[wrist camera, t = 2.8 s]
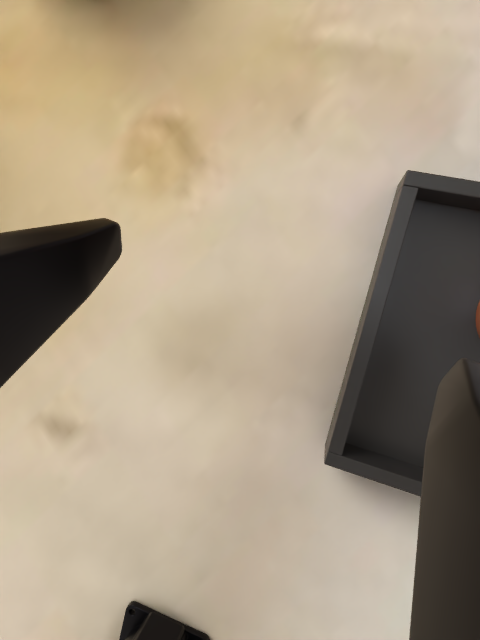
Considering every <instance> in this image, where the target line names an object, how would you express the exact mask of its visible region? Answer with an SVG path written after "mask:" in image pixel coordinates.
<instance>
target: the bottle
mask: <svg viewBox="0 0 480 640" xmlns="http://www.w3.org/2000/svg"><path fill="white" fill-rule="evenodd" d="M476 328H477V332H478V335H479V338H480V301H479V303H478V306H477V310H476Z"/></svg>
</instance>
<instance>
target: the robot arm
mask: <svg viewBox="0 0 480 640" xmlns="http://www.w3.org/2000/svg"><path fill="white" fill-rule="evenodd" d="M121 252H122V243H121V229H120V226H119V224H118V223H117V222H114V221H112V220H109V219H106V218H101V219H94V220H87V221H80V222H73V223H66V224H59V225H52V226H45V227H38V228H32V229H25V230H18V231H11V232H4V233H0V388H1V387H2V386H3V385H4V384H5V383H6V381H7V380H8V379H9V378H10V377H11V376H12V375H13V374H14V373H15V372H16V371H17V370H18V369H19V368H20V367H21V366H22V365H23V364H24V363H25V362H26V361H27V360H28V359H29V358H30V357H31V356H32V355H33V354H34V353H35V352H36V351H37V350H38V349H39V348H40V347H41V346H42V345H43V343H44V342H45V341H46V340H47V339H48V338H49V337H50V336H51V335H52V334H53V333H54V332H55V331H56V330H57V329H58V328H59V327H60V326H61V325H62V324H63V323H64V322H65V321H66V320H67V319H68V318H69V317H70V316H71V315H72V314H73V313H74V312H75V311H76V310H77V309H78V308H79V307H80V305H81V304H82V303H83V302H84V301H85V300H86V299H87V298H88V297H89V296H90V295H91V293H92V292H93V291H94V290H95V289H96V287H97V286H98V285H99V283H100V282H101V281H102V280H103V278H104V277H105V276H106V274H107V273H108V272H109V270H110V269H111V268H112V267H113V265H114V264H115V263H116V261H117V260H118V259H119V257H120V255H121ZM134 610H135V611H134ZM119 640H210V639H209V637H208V636H207V635H206V634H204V633H202V632H200V631H198V630H196V629H194V628H192V627H189V626H187V625H185V624H183V623H181V622H179V621H176V620H174V619H172V618H170V617H168V616H166V615H163V614H161V613H159V612H157V611H155V610H153V609H151V608H148V607H146V606H144V605H142V604H140V603H138V602H135V601H133V602H131V603H130V604H129V605H128V607H127V609H126V612H125V617H124V621H123V626H122V630H121V635H120V639H119ZM409 640H480V363H477V362H475V361H472V360H469V359H467V358H461V359H460V360H458V361H457V362H456V363H455V365H454V366H453V367H452V368H451V369H450V370H449V372H448V373H447V374H446V375H445V376H444V378H443V379H442V380H441V382H440V384H439V386H438V390H437V394H436V399H435V403H434V408H433V412H432V417H431V421H430V426H429V430H428V435H427V440H426V446H425V454H424V467H423V479H422V491H421V503H420V516H419V528H418V540H417V552H416V564H415V577H414V589H413V601H412V613H411V626H410V638H409Z"/></svg>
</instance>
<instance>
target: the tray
mask: <svg viewBox="0 0 480 640" xmlns="http://www.w3.org/2000/svg"><path fill="white" fill-rule="evenodd" d="M479 301H480V182H477V181H471V180H465V179H459V178H453V177H447V176H441V175H435V174H428V173H422V172H416V171H410V170H408V171H407V172H406V173H405V175H404V177H403V178H402V180H401V181H400V183H399V184H398V187H397V190H396V194H395V197H394V201H393V204H392V208H391V212H390V215H389V219H388V222H387V226H386V229H385V233H384V236H383V240H382V244H381V247H380V251H379V254H378V258H377V261H376V265H375V269H374V272H373V276H372V279H371V283H370V286H369V290H368V294H367V297H366V301H365V304H364V308H363V311H362V315H361V319H360V322H359V326H358V329H357V333H356V336H355V340H354V344H353V347H352V351H351V354H350V358H349V361H348V365H347V369H346V372H345V376H344V379H343V383H342V386H341V390H340V393H339V397H338V401H337V404H336V408H335V411H334V415H333V418H332V422H331V426H330V429H329V433H328V436H327V440H326V443H325V462H324V463H325V464H326V465H329V466H332V467H335V468H338V469H341V470H344V471H347V472H350V473H353V474H356V475H359V476H362V477H365V478H368V479H371V480H374V481H377V482H380V483H383V484H386V485H389V486H392V487H394V488H397V489H400V490H403V491H406V492H409V493H412V494H415V495H418V496H421V491H422V479H423V467H424V454H425V446H426V440H427V435H428V430H429V426H430V421H431V417H432V412H433V408H434V403H435V399H436V394H437V390H438V386H439V384H440V382H441V380H442V379H443V378H444V376H445V375H446V374H447V373H448V372H449V370H450V369H451V368H452V367H453V366H454V365H455V363H456V362H457V361H458V360H460V359H461V358H467V359H469V360H472V361H475V362H477V363H480V338H479V335H478V332H477V328H476V310H477V306H478V303H479Z"/></svg>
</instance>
